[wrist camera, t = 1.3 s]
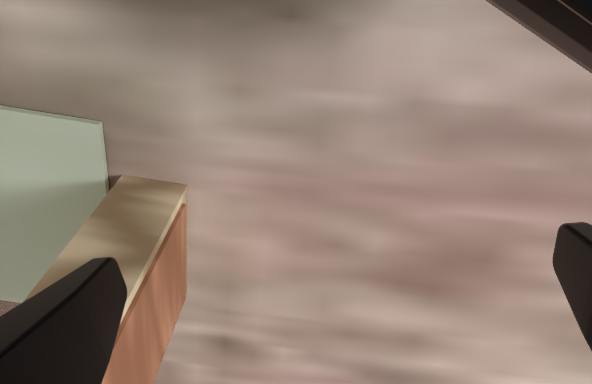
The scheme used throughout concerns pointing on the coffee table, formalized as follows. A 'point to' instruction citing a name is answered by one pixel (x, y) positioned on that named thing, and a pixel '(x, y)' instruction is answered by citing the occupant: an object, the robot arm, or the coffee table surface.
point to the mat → (44, 191)
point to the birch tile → (136, 268)
